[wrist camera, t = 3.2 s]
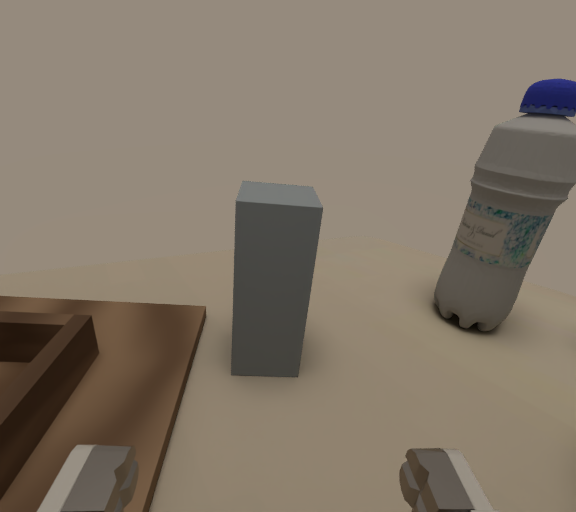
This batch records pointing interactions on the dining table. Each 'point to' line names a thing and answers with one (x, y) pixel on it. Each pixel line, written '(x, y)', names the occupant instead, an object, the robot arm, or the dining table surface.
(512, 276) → the bottle
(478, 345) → the dining table surface
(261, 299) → the grey peg
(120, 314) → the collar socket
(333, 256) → the dining table surface
